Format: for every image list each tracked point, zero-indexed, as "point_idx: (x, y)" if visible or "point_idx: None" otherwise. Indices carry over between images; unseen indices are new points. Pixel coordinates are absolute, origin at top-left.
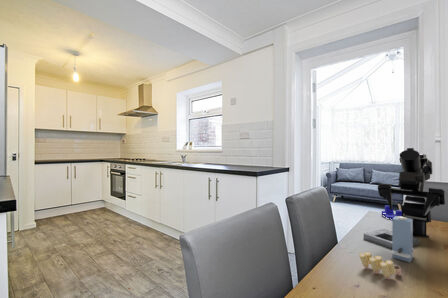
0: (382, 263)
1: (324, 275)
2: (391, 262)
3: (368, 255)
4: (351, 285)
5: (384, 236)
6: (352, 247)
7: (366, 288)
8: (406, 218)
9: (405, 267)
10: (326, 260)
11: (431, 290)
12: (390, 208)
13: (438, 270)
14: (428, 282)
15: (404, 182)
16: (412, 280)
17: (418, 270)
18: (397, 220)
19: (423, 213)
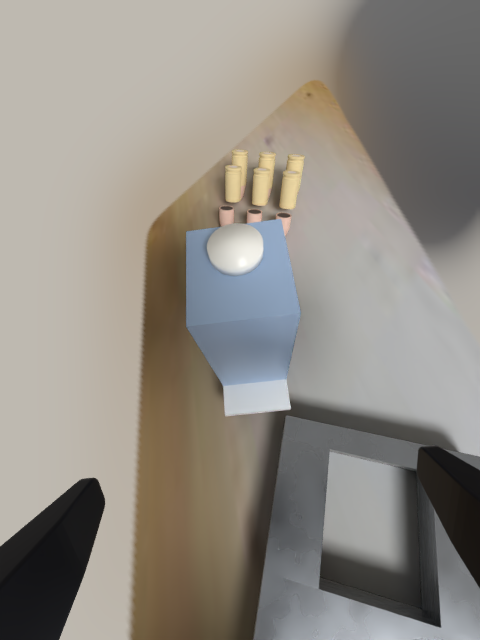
0: (242, 151)
1: (325, 125)
2: (228, 166)
3: (287, 170)
4: (275, 135)
5: (426, 613)
6: (403, 299)
7: (253, 145)
8: (208, 242)
9: None
10: (371, 168)
11: (165, 220)
12: (426, 446)
13: (153, 342)
14: (171, 248)
15: None
16: None
17: None
18: (254, 227)
19: (92, 480)
